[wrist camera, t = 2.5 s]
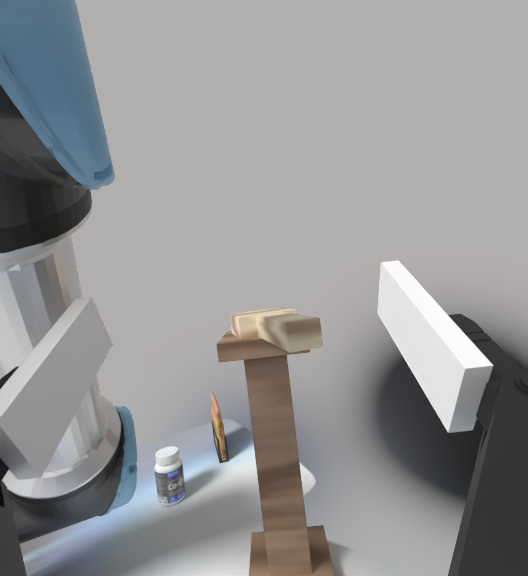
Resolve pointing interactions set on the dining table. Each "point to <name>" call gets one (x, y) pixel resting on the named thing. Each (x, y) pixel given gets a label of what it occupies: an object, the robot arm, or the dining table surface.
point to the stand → (276, 465)
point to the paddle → (279, 328)
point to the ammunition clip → (218, 431)
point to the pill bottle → (169, 476)
